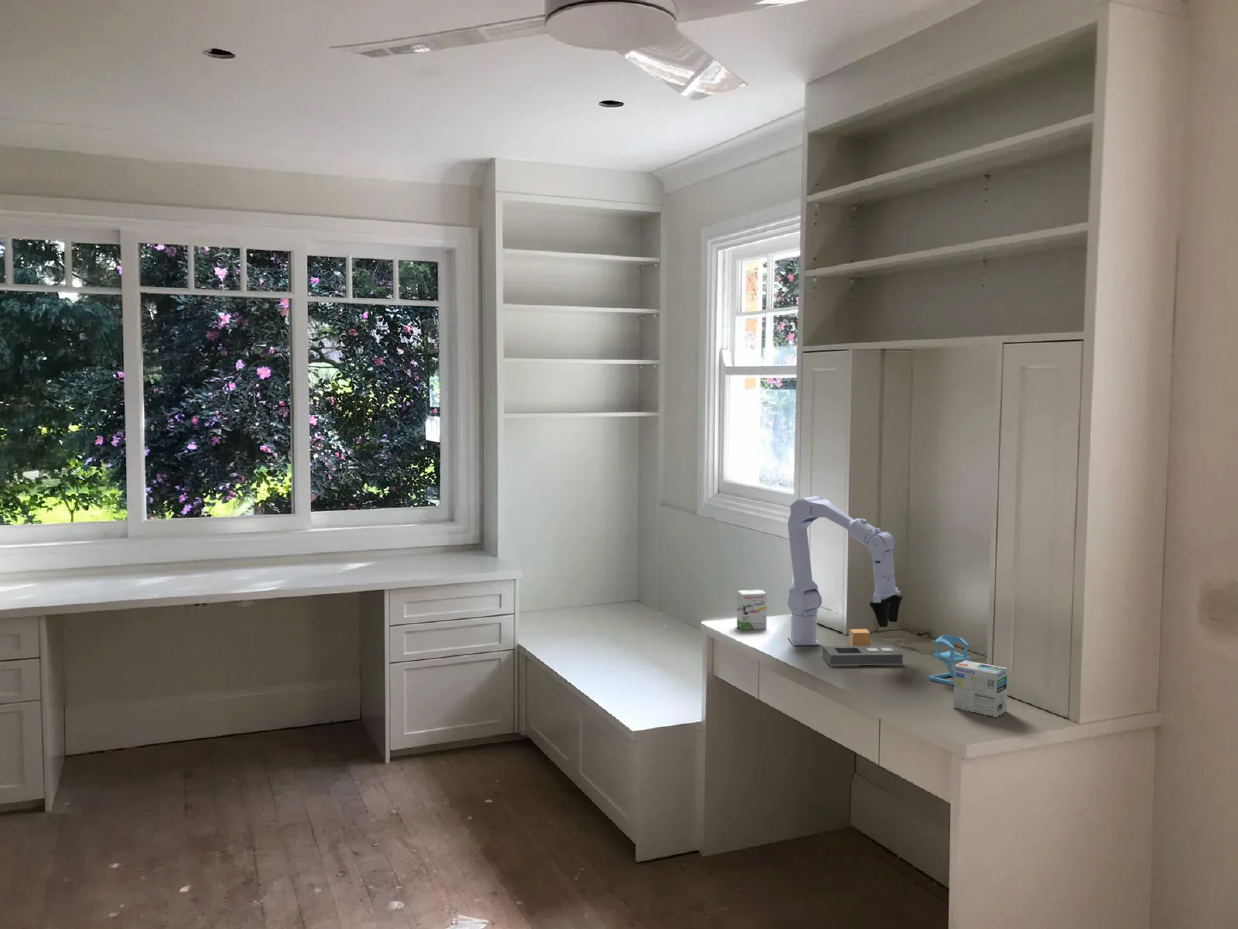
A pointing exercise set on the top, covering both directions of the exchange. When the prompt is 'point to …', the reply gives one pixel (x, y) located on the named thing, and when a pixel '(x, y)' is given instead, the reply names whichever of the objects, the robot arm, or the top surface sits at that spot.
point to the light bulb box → (980, 688)
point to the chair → (949, 657)
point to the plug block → (859, 637)
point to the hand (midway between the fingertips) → (888, 624)
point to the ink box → (751, 609)
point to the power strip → (862, 655)
